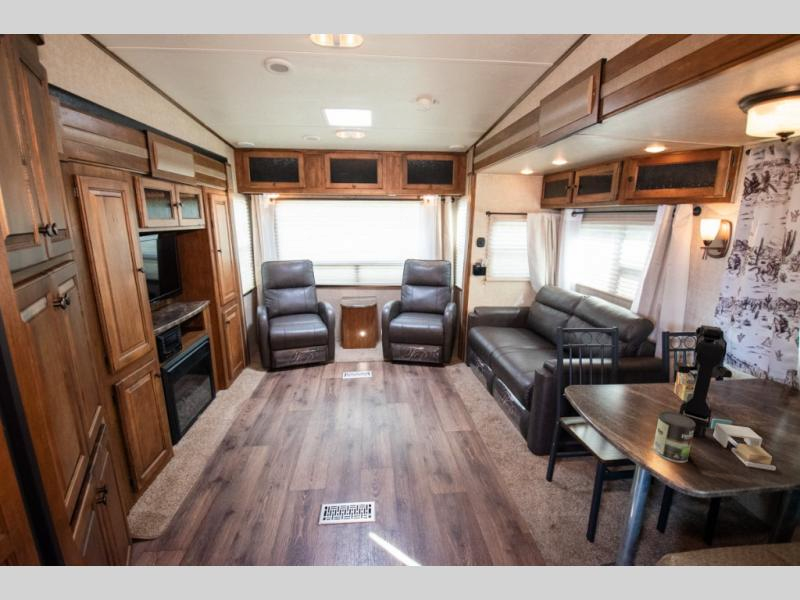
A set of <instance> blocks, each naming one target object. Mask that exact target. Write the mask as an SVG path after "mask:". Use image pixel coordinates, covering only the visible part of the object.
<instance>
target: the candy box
mask: <svg viewBox="0 0 800 600" xmlns="http://www.w3.org/2000/svg"><path fill="white" fill-rule="evenodd" d="M687 365H688V366H690V365H689V364H687ZM675 379H676V380H675V384H674V389H673V392H674V393H675V395H676V396H677V397H678V398H679V399H681V400H682V401H683V402H686V399H687V397H688V395H689V394H693V391H694V387H695V381H694V378H693V376H692V374H691V373H690V372H689V373H679V372H678V371H677V372H676V378H675Z"/></svg>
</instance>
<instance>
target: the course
mask: <svg viewBox="0 0 800 600" xmlns="http://www.w3.org/2000/svg"><path fill="white" fill-rule="evenodd" d="M713 431H714V432H713V434H712V437H713V438H715V439H716V441H717V442H719V444H721V446H722V447H723V448H727V446H728V442H729V440H728V438H729V436H730V437H737V438H742V439H743V441H744V443H745V444H747V445H754V446H760V447H761V445H762V442H763V438H762V437H761V436H759V434H757V433H756V432H755V431H754V430H753V429H752V428H750V427H747V426H746V427H745V426H741V425H733V424H732V425H726V424H718V423H716V425H715V429H713Z"/></svg>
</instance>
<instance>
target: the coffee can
mask: <svg viewBox="0 0 800 600" xmlns="http://www.w3.org/2000/svg"><path fill="white" fill-rule="evenodd" d="M684 415H685V414H683V415H681V414H679V413H678V412H674V411H665V410H664V411H660V412H659V413H658V420H657V425H656V430H655V434H654V440H653V441H654V442H653V446H652V450H653V452H654V453H655V454H657V455H658V456H659V457H660V458H662V459H665V460H667V461H670V462H672V463H679V464H681V463H682V464H683V463H684V464H685V463H686V462H687V463H688V460H689V454H690V449H691V446H692V441H693V438H694V437H693V433H694V428H695V426H696V424H695V422H694V421H693V420H692V419H690V418H688V417H686V416H684Z"/></svg>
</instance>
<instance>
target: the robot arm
mask: <svg viewBox="0 0 800 600" xmlns="http://www.w3.org/2000/svg"><path fill="white" fill-rule="evenodd" d="M723 332H724V331H723V330H722V328H721V327H720V326H719V327H718V326H713V325H711V326H710V325H705V324H701V325H700V326H698V327H697V328H696V329H695V333H694V337H695V338H696V341H695V346H694V351H693V352H694V355H693V356H694V361H692V362H691V363H692V365H689V364H687V363H685V362H680V361H677V362H674V363H673V365H672V368H673V369H674V370H676V371H677V372H679V373H689V372H690V373H691V374H692V376H693V378H694V381H695V387H694V391H693V394H689V395H688V397H687V399H686V401H683V403H681V404H680V407H679V413H678V414H681V415H684V416H686V417H688V418H690V419H692V420H693V421H694V422H695V424H696V426H695V428H694V433H693V437H692V438H701V437H703V438H704V437H706V433H707V429H709V427H710V425H711V424H710V423H711V415H712V408H710V407H711V402H710V399H709V398H708V393H709V389H710V386H711V385H710V384H711V381H712V379H717V378H718V377H719V376H720V377H722V378H729V379H731V378H733V377H732V376H733V372H732V370H730V369H729V368H727V367H726V366H722V365H721V364H722V359H726V355H727V346H728V342H727V341H726V339H725V338H724V337H723ZM716 342H717V343H716ZM688 365H689V366H688Z"/></svg>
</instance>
